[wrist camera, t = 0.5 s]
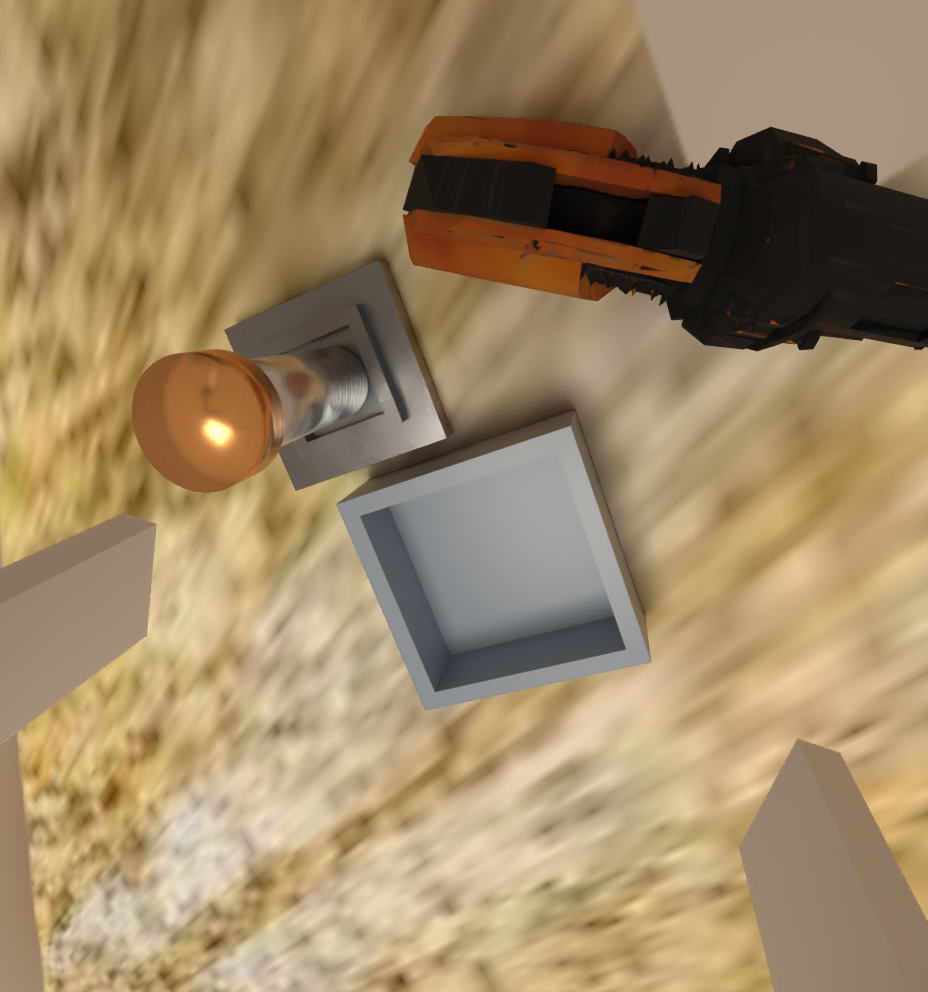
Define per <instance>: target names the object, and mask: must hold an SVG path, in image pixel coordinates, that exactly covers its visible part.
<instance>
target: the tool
mask: <svg viewBox="0 0 928 992" xmlns="http://www.w3.org/2000/svg"><path fill="white" fill-rule="evenodd" d="M409 162H411V163H412V164H414V165H415V169H414V173H413V176H412V180H411V183H410V187H409V190H408V193H407V197H406V200H405V204H404V207H403V210H406V211H409V212H408V215H403V219H404V225H405V231H406V237H407V243H408V249H409V255H410V259H411V260H412V262H413V264H414V265H417V266H422V267H426V268H432V269H436V270H441V271H447V272H451V273H456V274H460V275H465V276H469V277H474V278H479V279H484V280H489V281H494V282H500V283H505V284H510V285H515V286H520V287H525V288H530V289H535V290H540V291H545V292H550V293H556V294H561V295H566V296H571V297H576V298H581V299H587V300H593V301H598V300H600V299H601V298H602V297H604V296H605V295H606V294H608V293H609V292H610V291H612V290H613V289H614V288H616V287H618V288H619V289H620V290H621V291H622V292H624V293H625V294H627V293H628V292H629V291H630V290H632V296H633V295H634V293H635V292H636V291H637V292H641V293H645V294H648V295H651V301H652V300H653V298H654V297H655V296H657V295H662V297H661V301H660V304H659V306H660V305H661V304H663V303H664V302H665V301H667V305H668V309H669V313H670V317H671V320H683V322H682V327H683V328H684V329H685V330H687V331H688V332H689V333H690V334H691V335H693V336H694V337H695V338H696V339H698V340H699V341H700V342H701V343H702V344H704V345H708V346H717V347H726V348H735V349H745V348H747V349H750V350H754V351H760V350H763V349H766V348H769V347H772V346H776V345H778V344H781V343H787V344H796V343H797V345H798V348H799V350H808V349H814V347H815V345H816V344H817V342H818V340H819V338H820V336H826V337H835V338H843V339H852V340H860V341H862V340H863V338H866V339H871V340H877V341H882V342H887V343H892V344H898V345H903V346H908V347H914V350H922V349H923V348H924V347H928V200H927V199H924V198H920V197H917V196H913V195H910V194H906V193H903V192H899V191H896V190H892V189H889V188H885V187H881V186H878V185H875V184H876V182H877V165H876V164H872V163H868V162H863V161H862V162H861V163H860V165H858V163H857V162H856V160H855V159H851V158H847V157H844V156H842V155H840V154H839V153H837V152H835V151H834V150H833V149H831V148H830V147H828V146H826V145H825V144H823V143H822V142H820V141H819V140H817V139H813V138H810V137H806V136H803V135H799V134H795V133H792V132H788V131H784V130H780V129H777V128H773V127H770V128H767V129H765V130H762V131H760V132H758V133H756V134H753V135H751V136H748V137H746V138H744V139H742V140H739V141H737V142H736V143H735V145H734V147H733V149H732V150H731V152H730V153H729V149H727V148H719V149H718V150H717V152H716V153H715V154H714V156H713V157H712V158H711V160H710V161H709V162H708V163H707V165H706V166H705V167H703V168H700V166H699V164H698V165H697V169H695V170H694V167H693V162H691V164H690V165H689V167H686V168H682V169H677V168H674V165H673V161H672V158H671V159H670V161H669V162H668V164H667V165H666V163H665V161H663V162H661V163H660V164H659V163H656V162H650V158H649V156H648V157H647V159H646V160H645V157H644V155H642V156H641V157H639V158H637V154H636V150H635V148H634V147H633V146H632V144H631V143H630V142H629V141H628V140H627V139H626V137H625V136H623V135H622V134H620V133H619V132H617V131H615V130H609V129H604V128H598V127H593V126H587V125H582V124H576V123H569V122H558V121H547V120H535V119H524V118H503V117H473V116H435V117H434V119H433V120H432V121H431V122H430V123H429V124H428V126H427V127H426V128H425V130H424V132H423V134H422V136H421V138H420V140H419V142H418V144H417V146H416V148H415V150H414V152H413V154H412V156H411V158H410V160H409Z"/></svg>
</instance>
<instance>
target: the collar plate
mask: <svg viewBox="0 0 928 992" xmlns="http://www.w3.org/2000/svg"><path fill="white" fill-rule="evenodd" d="M225 333H226V335H227V337H228V339H229V342H230V344H231V346H232V348H233V351H234V352H235V353H237V354H240V355H242V356H244V357H246V358H247V359H249V360H250V359H257V358H263V357H269V356H275V355H282V354H288V353H294V352H300V351H307V350H313V349H319V348H325V347H338V348H341V349H344V350H346V351H348V352H350V353H351V354H353V355H354V356H355V357H356V358H357V359H358V360H359V362H360V363H361V365H362V366H363V368H364V370H365V373H366V376H367V381H368V391H367V396H366V399H365V401H364V403H363V405H362V406H361V408H360V409H359V410H358V411H357V412H356V413H354V414H353V415H351V416H349V417H346V418H344V419H342V420H340V421H337V422H335V423H333V424H331V425H328V426H326V427H324V428H322V429H319V430H317V431H315V432H313V433H310V434H308V435H306V436H304V437H301V438H299V439H297V440H295V441H292V442H290V443H288V444H286V445H283V446H281V447H280V449H279V454H280V456H281V459H282V461H283V463H284V465H285V468H286V470H287V472H288V474H289V477H290V479H291V481H292V483H293V486H294V488H295V490H296V491H297V490H300V489H303V488H306V487H308V486H311V485H314V484H317V483H320V482H323V481H326V480H328V479H331V478H334V477H337V476H340V475H343V474H346V473H348V472H351V471H354V470H357V469H360V468H363V467H366V466H369V465H371V464H374V463H377V462H380V461H383V460H386V459H389V458H391V457H394V456H397V455H400V454H403V453H406V452H409V451H411V450H414V449H417V448H420V447H423V446H426V445H429V444H431V443H434V442H437V441H440V440H443V439H446V438H447V437H449V436H450V435H451V434H452V430H451V428H450V425H449V422H448V420H447V417H446V415H445V412H444V409H443V407H442V404H441V401H440V399H439V396H438V394H437V391H436V388H435V386H434V383H433V381H432V378H431V375H430V373H429V370H428V367H427V365H426V362H425V360H424V357H423V354H422V352H421V349H420V347H419V344H418V341H417V339H416V336H415V333H414V331H413V328H412V326H411V323H410V320H409V318H408V315H407V313H406V310H405V307H404V305H403V302H402V300H401V297H400V294H399V292H398V289H397V286H396V284H395V281H394V279H393V276H392V273H391V271H390V268H389V266H388V263H387V262H386V261H380V260H377V261H375V262H372V263H370V264H368V265H366V266H364V267H361V268H359V269H357V270H355V271H353V272H351V273H348V274H346V275H344V276H342V277H340V278H337V279H335V280H333V281H331V282H329V283H326V284H324V285H322V286H320V287H318V288H315V289H313V290H311V291H309V292H307V293H304V294H302V295H300V296H298V297H296V298H293V299H291V300H289V301H287V302H285V303H282V304H280V305H278V306H276V307H274V308H271V309H269V310H267V311H265V312H263V313H260V314H258V315H256V316H254V317H252V318H249V319H247V320H245V321H243V322H241V323H238V324H236V325H234V326H232V327H230V328H227V329H225Z"/></svg>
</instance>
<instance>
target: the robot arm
mask: <svg viewBox="0 0 928 992" xmlns="http://www.w3.org/2000/svg"><path fill="white" fill-rule="evenodd" d="M155 534H156V524H154V523H151V522H148V521H145V520H142V519H140V518H137V517H134V516H131V515H128V514H125V513H123V514H120V515H118V516H116V517H114V518H112V519H109V520H107V521H105V522H103V523H101V524H98V525H96V526H94V527H92V528H90V529H87V530H85V531H83V532H81V533H79V534H76V535H74V536H72V537H70V538H68V539H65V540H63V541H61V542H59V543H57V544H54V545H52V546H50V547H48V548H46V549H43V550H41V551H39V552H37V553H35V554H32V555H30V556H28V557H26V558H24V559H21V560H19V561H17V562H15V563H13V564H10V565H8V566H6V567H4V568H2V569H0V745H1V744H2V743H3V742H5V741H6V740H7V739H9V738H10V737H11V736H13V735H14V734H16V733H17V732H18V731H20V730H21V729H22V728H24V727H25V726H26V725H28V724H29V723H30V722H32V721H33V720H34V719H36V718H37V717H38V716H40V715H41V714H42V713H44V712H45V711H46V710H48V709H49V708H50V707H52V706H53V705H54V704H56V703H57V702H58V701H60V700H61V699H62V698H64V697H65V696H66V695H68V694H69V693H70V692H72V691H73V690H75V689H76V688H77V687H79V686H80V685H81V684H83V683H84V682H85V681H87V680H88V679H89V678H91V677H92V676H93V675H95V674H96V673H97V672H99V671H100V670H101V669H103V668H104V667H105V666H107V665H108V664H109V663H111V662H112V661H113V660H115V659H116V658H117V657H119V656H120V655H121V654H123V653H124V652H125V651H127V650H128V649H129V648H131V647H132V646H133V645H135V644H136V643H137V642H139V641H140V640H142V639H143V638H144V637H146V636H147V628H148V616H149V604H150V593H151V581H152V569H153V557H154V546H155ZM739 849H740V853H741V858H742V862H743V866H744V870H745V874H746V878H747V882H748V886H749V890H750V894H751V898H752V902H753V906H754V910H755V914H756V918H757V922H758V926H759V930H760V934H761V938H762V943H763V947H764V951H765V955H766V959H767V963H768V967H769V971H770V975H771V979H772V983H773V987H774V991H775V992H928V922H927V920H926V918H925V916H924V914H923V912H922V910H921V908H920V906H919V904H918V902H917V900H916V898H915V896H914V895H913V893H912V891H911V889H910V887H909V885H908V883H907V881H906V879H905V877H904V875H903V873H902V871H901V870H900V868H899V866H898V864H897V862H896V860H895V858H894V856H893V854H892V852H891V850H890V848H889V846H888V844H887V843H886V841H885V839H884V837H883V835H882V833H881V831H880V829H879V827H878V825H877V823H876V821H875V819H874V817H873V816H872V814H871V812H870V810H869V808H868V806H867V804H866V802H865V800H864V798H863V796H862V794H861V792H860V790H859V789H858V787H857V785H856V783H855V781H854V779H853V777H852V775H851V773H850V771H849V769H848V767H847V765H846V764H845V762H844V760H843V758H842V756H841V754H840V753H839V752H836V751H833V750H830V749H827V748H824V747H821V746H818V745H815V744H812V743H809V742H806V741H803V740H800V739H797V740H796V742H795V744H794V746H793V748H792V750H791V752H790V753H789V755H788V757H787V759H786V761H785V763H784V765H783V766H782V768H781V770H780V772H779V774H778V776H777V778H776V779H775V781H774V783H773V785H772V787H771V789H770V791H769V792H768V794H767V796H766V798H765V800H764V802H763V804H762V805H761V807H760V809H759V811H758V813H757V815H756V817H755V819H754V820H753V822H752V824H751V826H750V828H749V830H748V832H747V833H746V835H745V837H744V839H743V841H742V843H741V845H740V846H739Z"/></svg>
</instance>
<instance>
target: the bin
mask: <svg viewBox="0 0 928 992" xmlns="http://www.w3.org/2000/svg"><path fill="white" fill-rule="evenodd" d="M336 505H337V507H338V509H339V512H340V514H341V516H342V519H343V521H344V523H345V526H346V528H347V530H348V533H349V535H350V537H351V540H352V542H353V544H354V546H355V549H356V551H357V553H358V556H359V558H360V560H361V563H362V565H363V567H364V570H365V572H366V574H367V577H368V579H369V581H370V583H371V586H372V588H373V590H374V593H375V595H376V597H377V600H378V602H379V604H380V607H381V609H382V611H383V614H384V616H385V618H386V621H387V623H388V625H389V627H390V630H391V632H392V634H393V637H394V639H395V641H396V644H397V646H398V648H399V651H400V653H401V655H402V658H403V660H404V662H405V664H406V667H407V669H408V671H409V674H410V676H411V678H412V681H413V683H414V685H415V688H416V690H417V692H418V695H419V697H420V699H421V702H422V704H423V706H424V708H425V711H426V710H431V709H435V708H440V707H445V706H449V705H454V704H459V703H463V702H468V701H473V700H477V699H482V698H487V697H491V696H496V695H501V694H505V693H510V692H515V691H519V690H524V689H529V688H533V687H538V686H543V685H547V684H552V683H556V682H561V681H566V680H570V679H575V678H580V677H584V676H589V675H594V674H598V673H603V672H608V671H612V670H617V669H622V668H626V667H631V666H636V665H640V664H645V663H650V662H651V656H650V649H649V641H648V633H647V626H646V618H645V615H644V612H643V609H642V606H641V603H640V600H639V597H638V594H637V591H636V588H635V585H634V582H633V579H632V576H631V573H630V570H629V567H628V564H627V561H626V559H625V556H624V553H623V550H622V547H621V544H620V541H619V538H618V535H617V532H616V529H615V526H614V523H613V520H612V517H611V514H610V511H609V508H608V505H607V502H606V499H605V497H604V494H603V491H602V488H601V485H600V482H599V479H598V476H597V473H596V470H595V467H594V464H593V461H592V458H591V455H590V452H589V449H588V446H587V443H586V440H585V437H584V434H583V432H582V429H581V426H580V423H579V420H578V417H577V414H576V411H575V410H572V411H569V412H566V413H563V414H560V415H557V416H554V417H551V418H548V419H545V420H543V421H540V422H537V423H534V424H531V425H528V426H525V427H522V428H519V429H516V430H513V431H510V432H507V433H505V434H502V435H499V436H496V437H493V438H490V439H487V440H484V441H481V442H478V443H475V444H472V445H469V446H466V447H464V448H461V449H458V450H455V451H452V452H449V453H446V454H443V455H440V456H437V457H434V458H431V459H428V460H426V461H423V462H420V463H417V464H414V465H411V466H408V467H405V468H402V469H399V470H396V471H393V472H390V473H388V474H385V475H382V476H379V477H376V478H373V479H370V480H368V481H367V482H365V483H364V484H363V485H361V486H360V487H359V488H357V489H356V490H355V491H353V492H352V493H351V494H349V495H348V496H347V497H345V498H344V499H343V500H341V501H340V502H339V503H337V504H336Z"/></svg>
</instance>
